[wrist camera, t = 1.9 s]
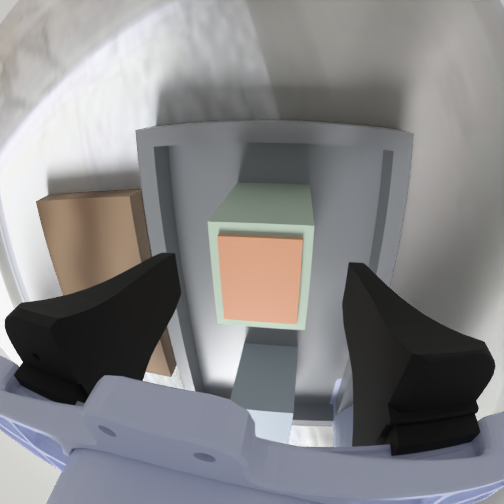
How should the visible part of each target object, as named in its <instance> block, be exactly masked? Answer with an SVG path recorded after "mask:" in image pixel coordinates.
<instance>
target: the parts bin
mask: <svg viewBox="0 0 504 504" xmlns="http://www.w3.org/2000/svg"><path fill="white" fill-rule="evenodd" d="M413 135H414V134H413V133H410V132H406V131H403V130H399V129H393V128H386V127H377V126H369V125H359V124H348V123H336V122H321V121H300V120H229V121H207V122H192V123H180V124H169V125H159V126H153V127H148V128H143V129H139V130H136V141H137V152H138V161H139V171H140V179H141V187H142V195H143V202H144V209H145V216H146V222H147V229H148V235H149V241H150V246H151V252H152V257H153V256H155V255H157V254H160V253H162V252H163V253H175V256H176V262H177V269H178V275H179V281H180V287H181V296H180V299H179V302H178V304H177V307H176V310H175V312H174V314H173V316H172V318H171V320H170V322H169V323H168V325H167V328H168V332H169V336H170V340H171V344H172V348H173V351H174V355H175V359H176V363H177V366H178V370H179V373H180V377H181V380H182V384H183V387H184V390H189V391H195V392H201V393H208V394H212V395H215V396H219V397H222V398H226V399H230V398H231V394H232V390H233V386H234V382H235V378H236V374H237V370H238V366H239V362H240V358H241V354H242V350H243V346H244V343H252V344H264V345H277V346H293V347H298V351H297V369H296V385H295V399H294V412H293V419H292V425H298V426H333V404H330V401H331V397H332V394H333V390H334V387H335V383H336V381H337V380H338V379H340V378H342V380H341V384H340V387H339V390H338V394H337V396H336V416H337V415H338V414H339V413H340V412H342V411H343V410H344V409H346V408H348V407H350V406H352V404H353V379H352V369H351V362H350V357H349V351H348V346H347V340H346V335H345V330H344V324H343V310H342V301H343V296H344V290H345V284H346V278H347V271H348V264H349V262H358V263H364V264H365V265H367V266H368V267H369V268H370V269H371V270H372V271H373V272H374V273H375V274H376V275H377V276H378V277H379V278H380V279H381V280H382V281H383V282H384V283H385V284H386V285H387V286H388V287H389V288H390V284H391V279H392V275H393V271H394V266H395V262H396V257H397V252H398V247H399V242H400V237H401V231H402V226H403V220H404V214H405V207H406V201H407V194H408V186H409V178H410V169H411V159H412V148H413ZM237 183H282V184H306V185H310V191H311V199H312V208H313V217H314V239H313V252H312V264H311V276H310V287H309V297H308V307H307V316H306V325H305V330H292V329H276V328H262V327H250V326H238V325H227V324H217V315H216V306H215V296H214V287H213V277H212V266H211V256H210V244H209V233H208V220H209V219H210V218H211V216H212V215H213V214H214V212H215V211H216V210H217V209H218V207H219V206H220V205H221V203H222V202H223V201H224V199H225V198H226V197H227V195H228V194H229V193H230V192H231V190H232V189H233V188H234V186H235V185H236V184H237Z"/></svg>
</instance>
